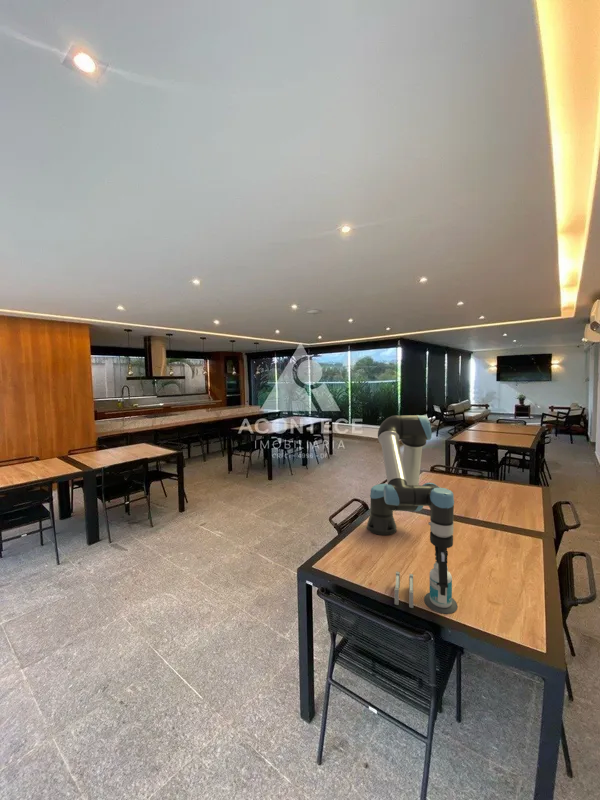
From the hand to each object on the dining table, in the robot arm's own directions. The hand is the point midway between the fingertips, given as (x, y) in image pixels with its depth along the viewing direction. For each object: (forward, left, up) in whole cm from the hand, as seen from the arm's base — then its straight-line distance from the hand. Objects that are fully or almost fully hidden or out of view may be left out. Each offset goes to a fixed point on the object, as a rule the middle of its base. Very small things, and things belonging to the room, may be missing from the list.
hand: (440, 589), depth 118 cm
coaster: (0, 0, -5) cm, 5 cm away
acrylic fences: (0, -12, -5) cm, 13 cm away
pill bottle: (0, 0, -5) cm, 5 cm away
